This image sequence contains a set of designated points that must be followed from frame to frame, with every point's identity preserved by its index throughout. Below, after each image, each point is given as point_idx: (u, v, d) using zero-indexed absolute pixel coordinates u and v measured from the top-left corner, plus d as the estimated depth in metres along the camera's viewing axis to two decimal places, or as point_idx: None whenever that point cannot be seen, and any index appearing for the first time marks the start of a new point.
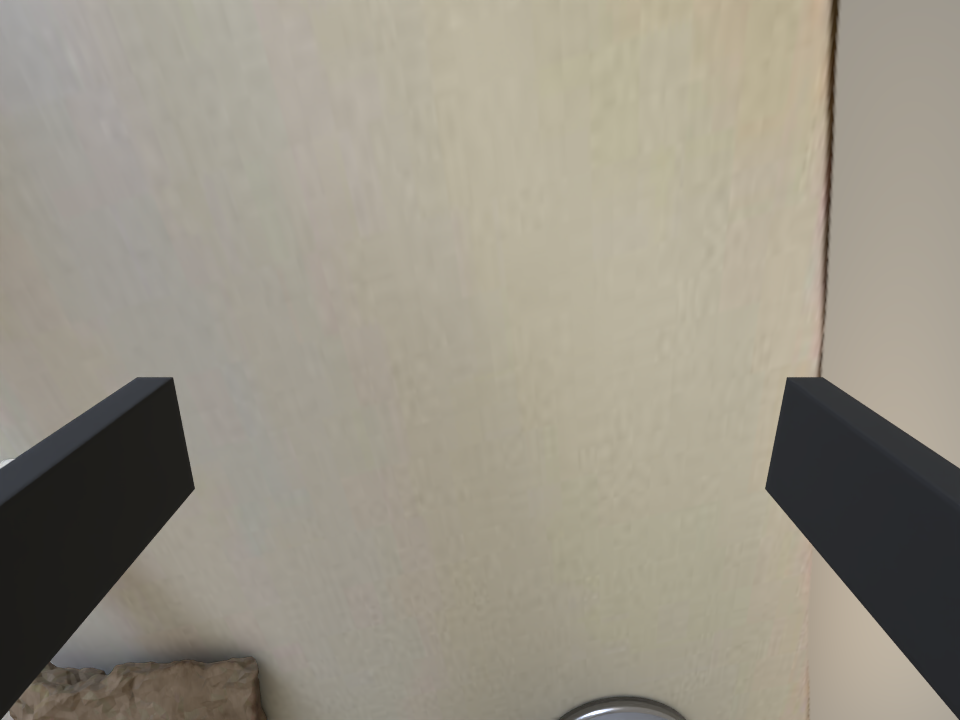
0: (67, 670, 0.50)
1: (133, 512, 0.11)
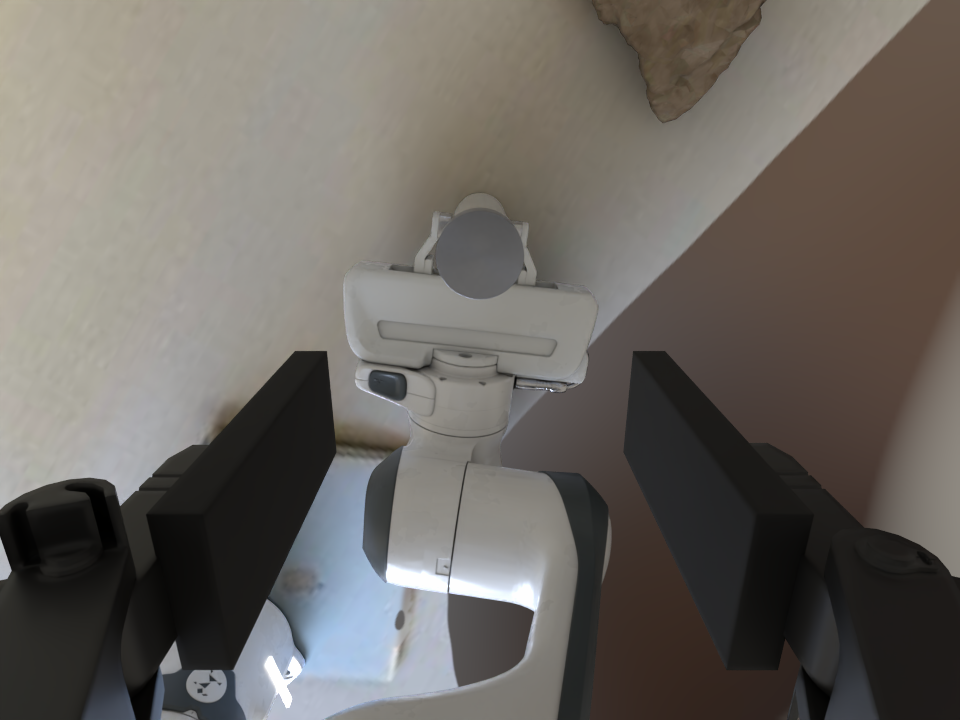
0: (640, 65, 0.45)
1: (309, 465, 0.12)
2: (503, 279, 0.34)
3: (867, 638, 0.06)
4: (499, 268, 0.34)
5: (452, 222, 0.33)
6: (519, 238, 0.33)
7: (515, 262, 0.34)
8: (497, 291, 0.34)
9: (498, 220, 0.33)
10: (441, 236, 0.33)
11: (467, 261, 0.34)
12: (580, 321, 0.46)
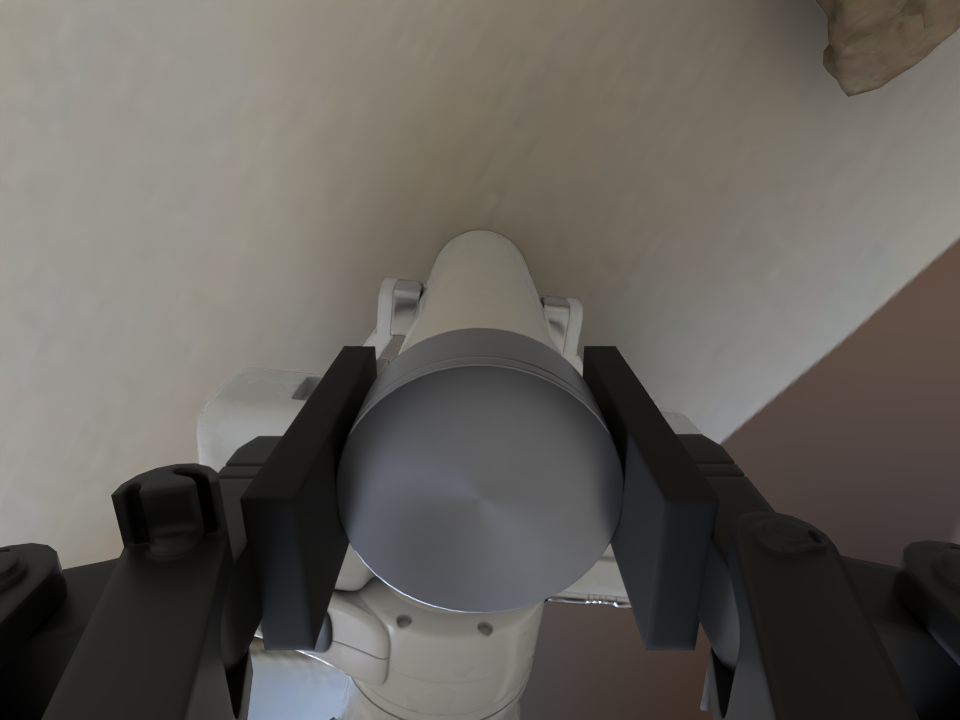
0: None
1: None
2: (554, 562, 0.11)
3: (762, 619, 0.06)
4: (542, 532, 0.10)
5: (385, 400, 0.10)
6: (611, 448, 0.10)
7: (594, 516, 0.10)
8: (534, 593, 0.11)
9: (543, 394, 0.10)
10: (350, 442, 0.10)
11: (439, 513, 0.10)
12: None
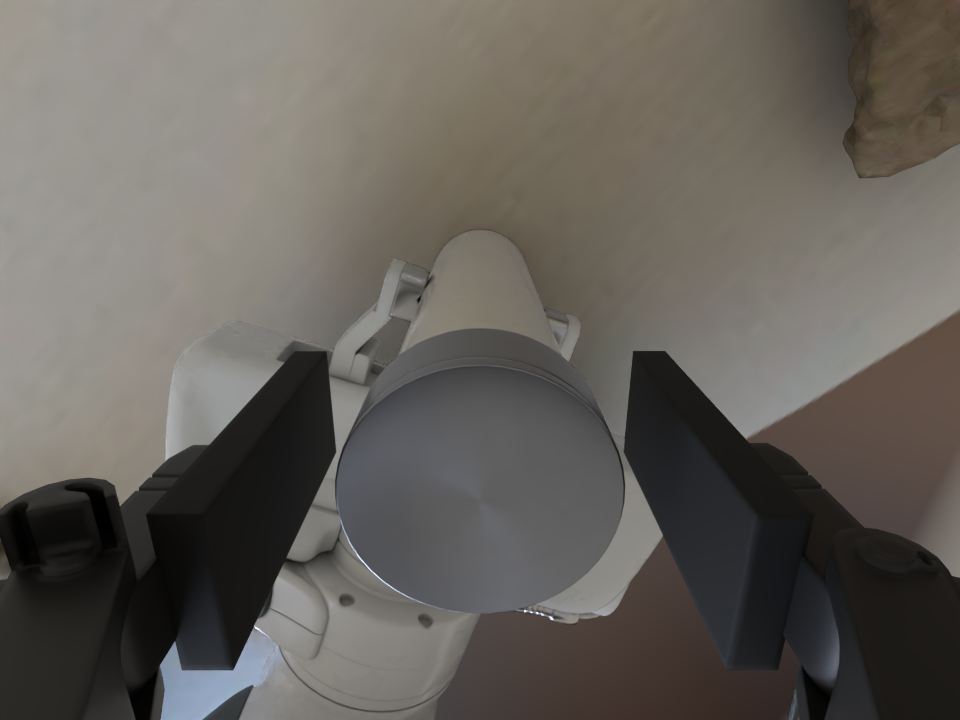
0: None
1: (309, 465, 0.12)
2: (564, 434, 0.10)
3: (867, 638, 0.06)
4: (524, 445, 0.10)
5: (371, 567, 0.11)
6: (424, 378, 0.09)
7: (507, 394, 0.10)
8: (603, 454, 0.10)
9: (363, 442, 0.10)
10: (413, 597, 0.11)
11: (493, 535, 0.10)
12: (639, 527, 0.23)
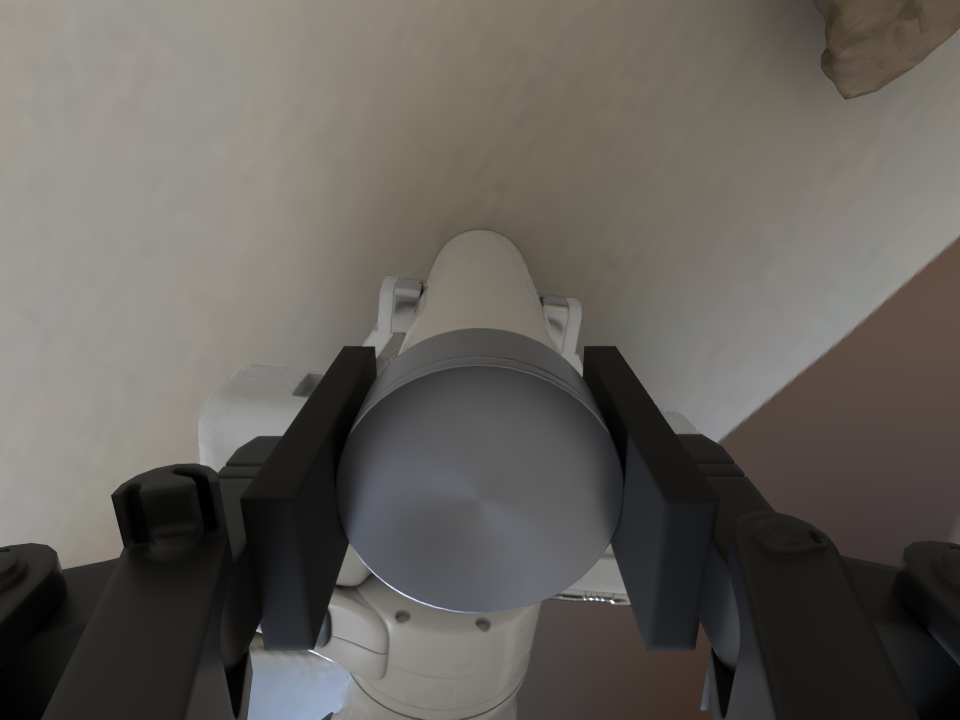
0: None
1: None
2: (547, 420, 0.10)
3: (762, 619, 0.06)
4: (510, 438, 0.10)
5: (389, 583, 0.11)
6: (398, 391, 0.10)
7: (482, 391, 0.10)
8: (591, 433, 0.10)
9: (354, 463, 0.10)
10: (436, 605, 0.11)
11: (501, 532, 0.10)
12: None
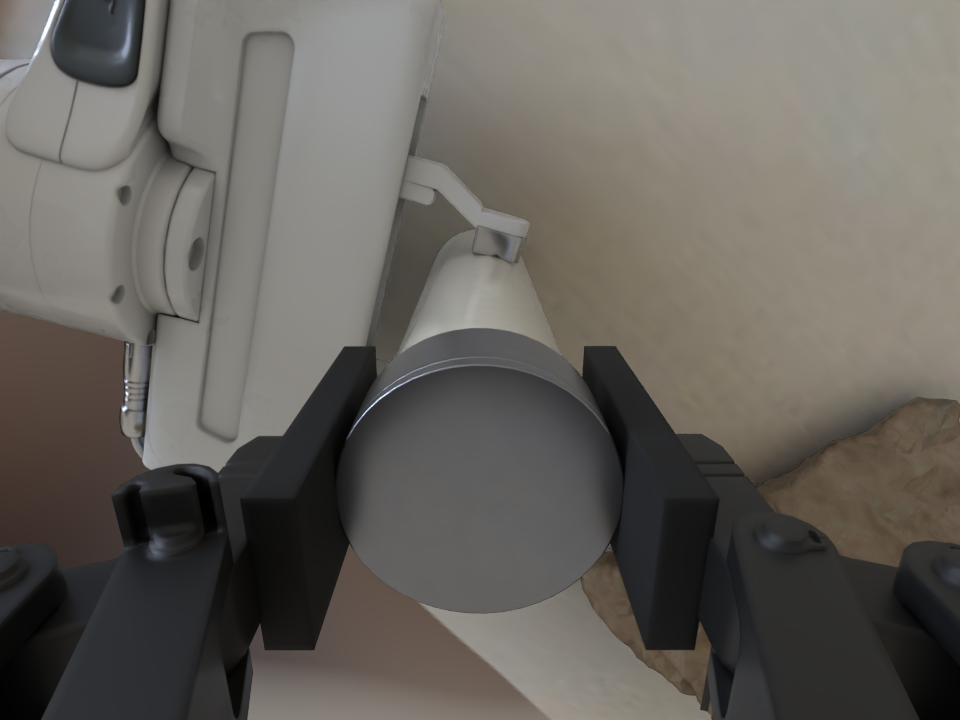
0: None
1: None
2: (547, 420, 0.10)
3: (762, 619, 0.06)
4: (510, 438, 0.10)
5: (389, 583, 0.11)
6: (398, 390, 0.10)
7: (482, 391, 0.10)
8: (591, 433, 0.10)
9: (353, 463, 0.10)
10: (436, 605, 0.11)
11: (501, 532, 0.10)
12: None
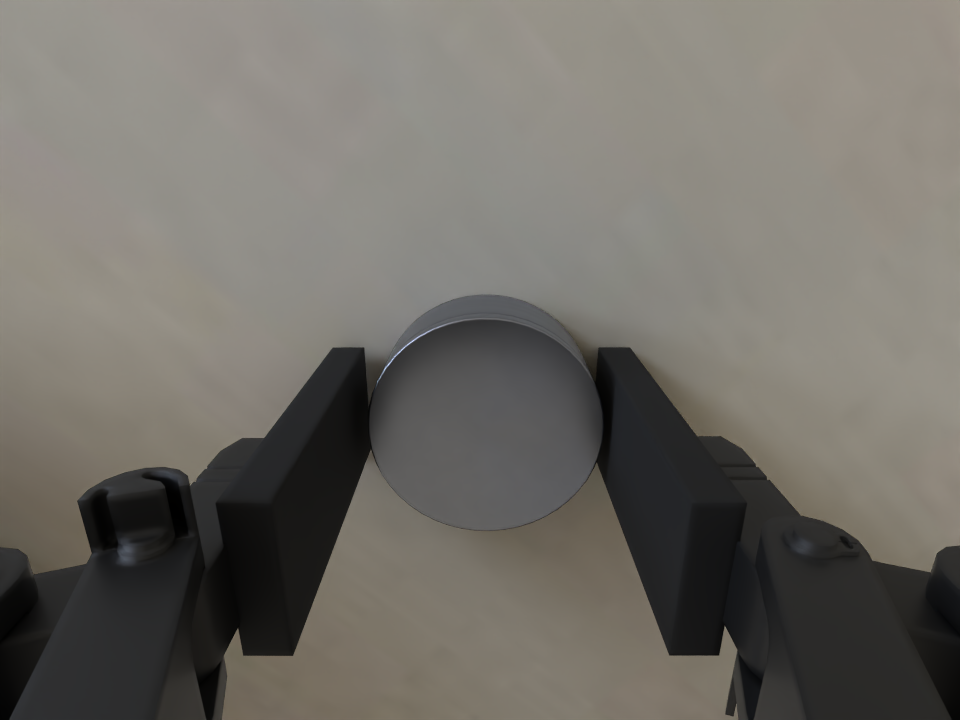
0: None
1: (350, 459, 0.13)
2: (540, 365, 0.12)
3: (792, 624, 0.06)
4: (511, 379, 0.12)
5: (411, 503, 0.13)
6: (420, 339, 0.12)
7: (488, 340, 0.12)
8: (576, 376, 0.12)
9: (384, 399, 0.12)
10: (449, 523, 0.13)
11: (503, 459, 0.13)
12: None
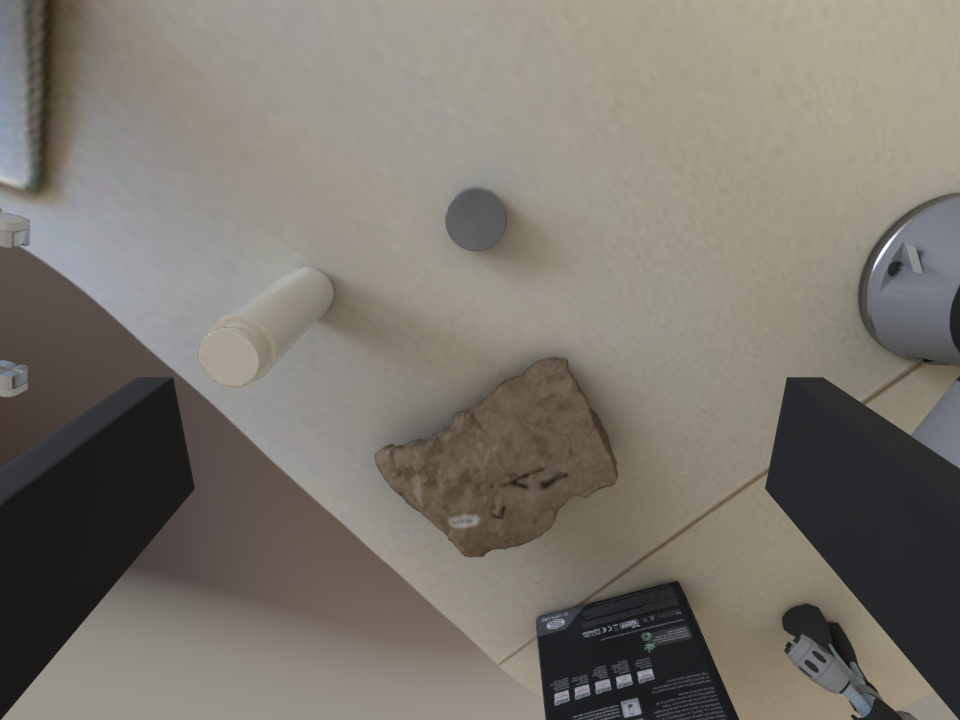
0: None
1: (133, 512, 0.11)
2: (489, 201, 0.48)
3: None
4: (482, 205, 0.48)
5: (456, 242, 0.49)
6: (459, 195, 0.48)
7: (476, 195, 0.48)
8: (498, 204, 0.48)
9: (450, 211, 0.49)
10: (466, 248, 0.50)
11: (480, 228, 0.49)
12: None
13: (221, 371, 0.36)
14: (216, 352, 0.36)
